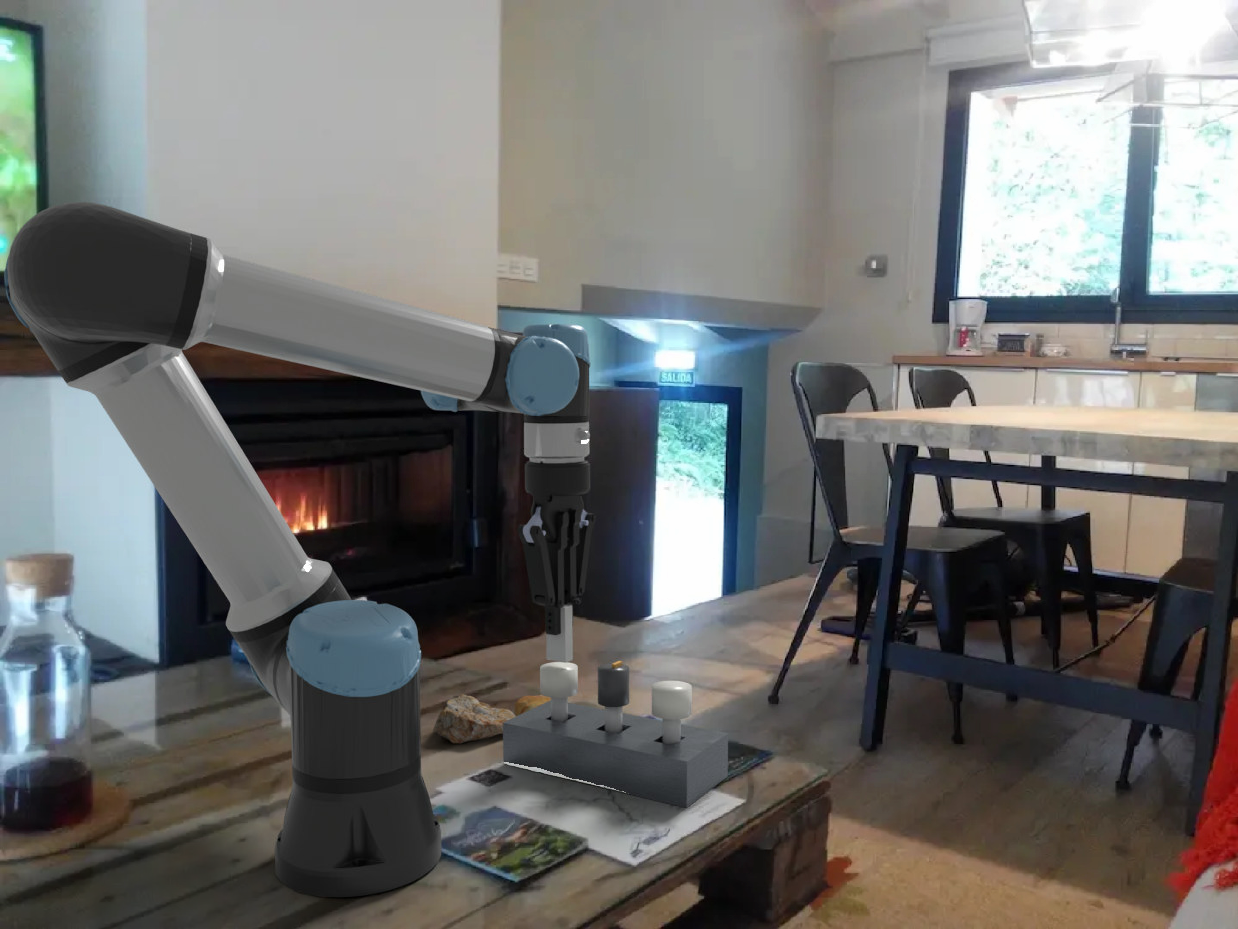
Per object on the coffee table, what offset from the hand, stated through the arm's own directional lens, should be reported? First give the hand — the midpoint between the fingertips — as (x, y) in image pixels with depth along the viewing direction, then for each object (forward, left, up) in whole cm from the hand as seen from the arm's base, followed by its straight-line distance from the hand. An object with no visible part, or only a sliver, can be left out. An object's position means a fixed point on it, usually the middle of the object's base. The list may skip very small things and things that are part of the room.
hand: (559, 659), depth 123 cm
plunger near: (0, -15, -8) cm, 17 cm away
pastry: (+9, +10, -12) cm, 18 cm away
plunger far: (0, 0, -8) cm, 8 cm away
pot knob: (0, -7, -8) cm, 11 cm away
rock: (+2, +14, -12) cm, 19 cm away
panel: (0, -7, -12) cm, 14 cm away
